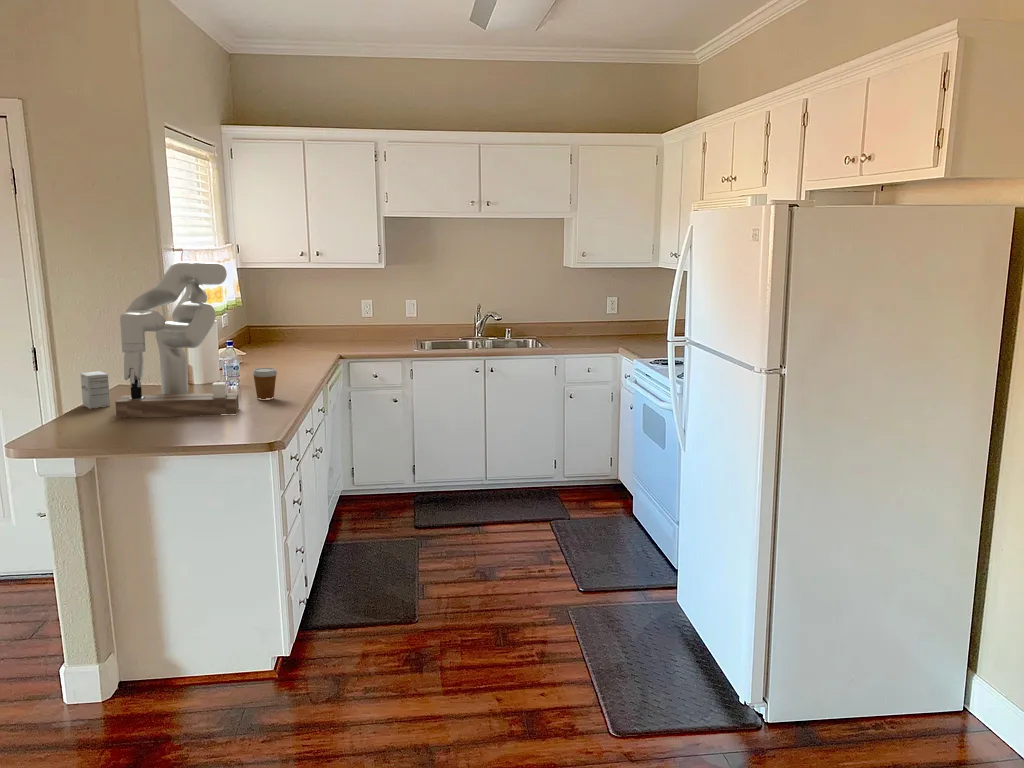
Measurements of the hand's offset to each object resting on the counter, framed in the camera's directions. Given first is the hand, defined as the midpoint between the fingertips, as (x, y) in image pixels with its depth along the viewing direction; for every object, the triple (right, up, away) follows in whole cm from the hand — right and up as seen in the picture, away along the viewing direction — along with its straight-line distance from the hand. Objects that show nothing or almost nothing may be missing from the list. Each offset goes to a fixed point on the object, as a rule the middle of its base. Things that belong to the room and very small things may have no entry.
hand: (136, 397), depth 273 cm
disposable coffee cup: (+36, -1, +33) cm, 49 cm away
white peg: (+27, -1, +8) cm, 28 cm away
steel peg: (0, -6, +1) cm, 6 cm away
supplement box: (-21, -4, +12) cm, 24 cm away
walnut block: (+13, -6, +5) cm, 15 cm away
